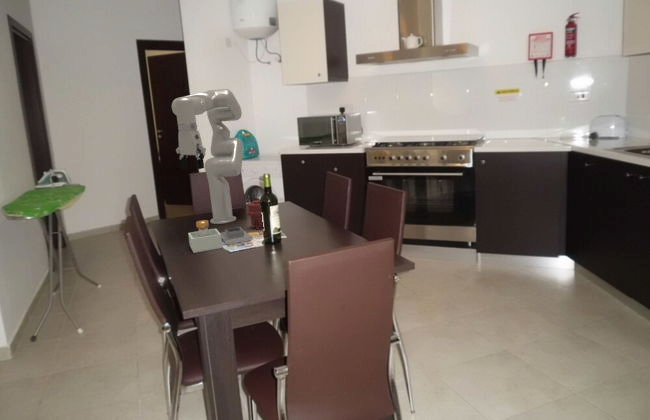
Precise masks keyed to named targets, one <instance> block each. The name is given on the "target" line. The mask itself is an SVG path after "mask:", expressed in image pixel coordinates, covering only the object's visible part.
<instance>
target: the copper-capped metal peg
mask: <svg viewBox="0 0 650 420" xmlns="http://www.w3.org/2000/svg"><path fill="white" fill-rule="evenodd" d="M209 223H210V222H209V220H207V219H203V220H198V221H196V223H195V225H196V228H198V231H199V236H200V237H205V236H209V234H208V230H209V229H208V228H209V226H210V224H209Z"/></svg>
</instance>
